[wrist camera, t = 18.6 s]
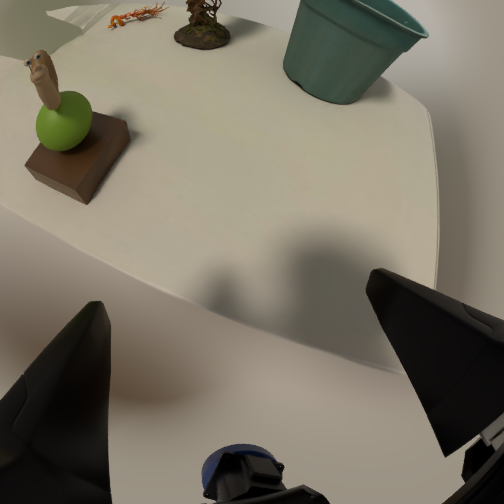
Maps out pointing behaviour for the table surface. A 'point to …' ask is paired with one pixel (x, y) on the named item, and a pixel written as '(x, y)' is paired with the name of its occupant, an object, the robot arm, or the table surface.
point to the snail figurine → (58, 107)
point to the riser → (81, 159)
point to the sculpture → (202, 27)
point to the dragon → (133, 15)
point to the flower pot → (347, 45)
